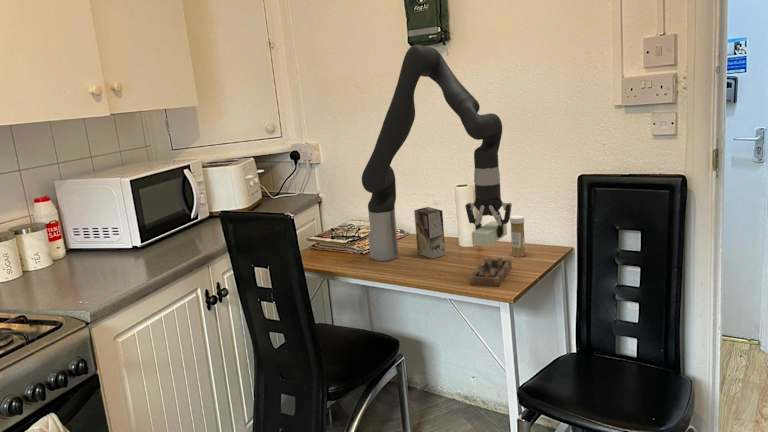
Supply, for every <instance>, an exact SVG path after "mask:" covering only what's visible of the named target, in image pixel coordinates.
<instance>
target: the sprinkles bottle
mask: <svg viewBox="0 0 768 432" xmlns="http://www.w3.org/2000/svg"><path fill="white" fill-rule="evenodd" d="M509 221H510V238H511V239H510V240H511V255H512V256H513V257H517V258H521V257H524V256H526V247H525V246H526V241H525V240H526V239H525V216H524V215H517V214H515V215H510V220H509Z"/></svg>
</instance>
